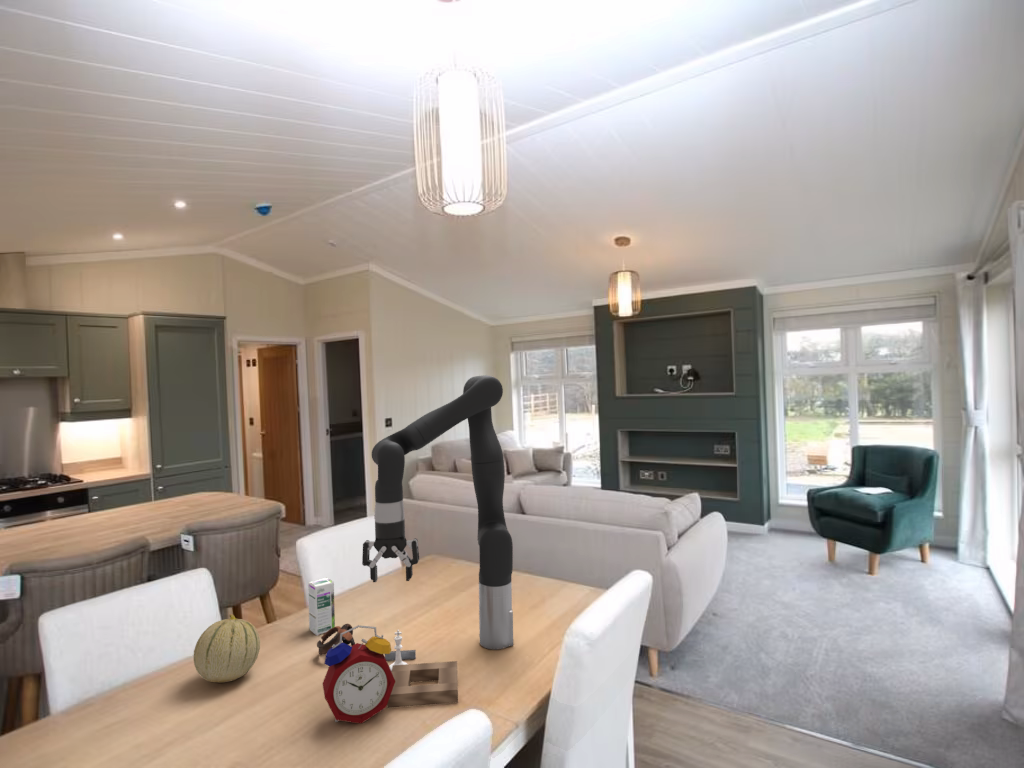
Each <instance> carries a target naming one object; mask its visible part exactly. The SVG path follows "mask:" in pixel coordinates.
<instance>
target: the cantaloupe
mask: <svg viewBox="0 0 1024 768" xmlns="http://www.w3.org/2000/svg"><path fill="white" fill-rule="evenodd" d="M260 649H261V638H260V634H259V632H258V629H257V628H256V626H254V624H252V623H251V622H250V621H248V620H245V619H242V618H236V617H235V615H234V614H231V613H230V614H229V618H225V619H222V620H221V619H220V620H218V621H216V622H214V623H212V624H211V625H209V626H208V627H207V628H206V629H205V630H204V631H203V632H202V633H201V635H200V636H199V638H198V640H197V641H196V643H195V646H194V649H193V665H194V668H195V670H196V672H197V673H198V675H199V676H200V677H201V678H202V679H203V680H206V681H207V682H210V683H211V682H212V683H220V684H223V683H228V682H233V681H235V680H238V679H239V678H242V677H243V676H244V675H245V674H247V673H248V671H250V669H251V668H252V667H253V666H254V664H255V663H256V661H257V660H258V657H259V654H260Z"/></svg>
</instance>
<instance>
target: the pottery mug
mask: <svg viewBox="0 0 1024 768" xmlns="http://www.w3.org/2000/svg"><path fill="white" fill-rule="evenodd" d="M352 628H353V626H352V625H351V624H350V623H345V624H342V626H340V625H337V626H336V625H335V627H333V628H331V629H330V630H328V631H327V632H325V633H323V634H322V636H321V637H320V638H321V640H318V641H317V643H316V647H317V648H318V655H320V656H324V655H326V654H327V652H328V650H329V649H331V648H332V647H333V644H334V645H337V644H338V643H339V642H340V634H341V633H343V632H345V631H347V630H349V629H352ZM334 634H335V635H334ZM353 634H354V630H352V631H349V632H347V633H345V634H343V635H342V643H345V644H347V645H349V646H353V645H354V644H356V642H355V639H354V635H353ZM333 635H334V636H333ZM332 636H333V637H332ZM330 637H332V638H331V639H330V640H329V641H327V640H328V639H329V638H330ZM326 641H327V642H326ZM325 642H326V643H325Z"/></svg>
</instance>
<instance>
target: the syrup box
mask: <svg viewBox="0 0 1024 768" xmlns="http://www.w3.org/2000/svg"><path fill="white" fill-rule="evenodd" d="M307 583H308V584H307V586H308V589H307V591H308V594H307V595H308V622H309V623H308V624H309V625H308V626H309V627H308V628H309V631H310V632H312V633H313V634H314V635H315V636H319V635H323V634H325V633H326V632H327V631H328V630H330V629H331V628H333V627H336V622H335V621H336V616H335V582H334V581H333V580H332V579H330V578H328V577H323V578H320V579H317V580H313V581H309V582H307Z"/></svg>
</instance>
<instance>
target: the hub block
mask: <svg viewBox="0 0 1024 768" xmlns="http://www.w3.org/2000/svg"><path fill="white" fill-rule="evenodd" d="M392 674H393V677H394V679H395V684H394V687H393V689H392V692H391V695H390V698H389V700H388V703H387V706H386V709H393V708H407V707H420V706H429V705H430V706H432V705H435V706H436V705H444V704H458V703H459V679H458V677H459V674H458V660H454V661H453V660H452V661H440V662H439V661H435V662H426V663H425V662H424V663H410V664H409V663H407V664H406V665H393V667H392ZM426 682H438V683H433V684H419V685H416V684H415V685H411V683H426Z"/></svg>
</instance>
